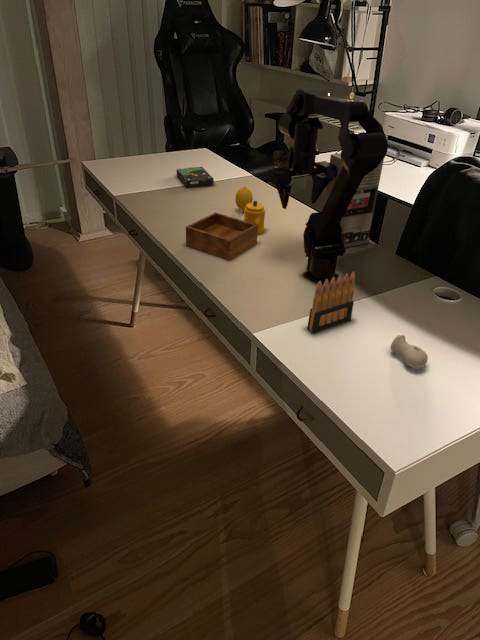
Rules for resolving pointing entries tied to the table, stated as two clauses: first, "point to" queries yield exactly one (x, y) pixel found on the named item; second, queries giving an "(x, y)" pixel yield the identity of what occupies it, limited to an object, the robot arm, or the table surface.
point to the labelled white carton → (357, 205)
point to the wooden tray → (221, 235)
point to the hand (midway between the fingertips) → (298, 205)
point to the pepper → (255, 215)
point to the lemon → (243, 197)
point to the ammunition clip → (332, 304)
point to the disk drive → (195, 177)
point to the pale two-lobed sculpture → (409, 352)
